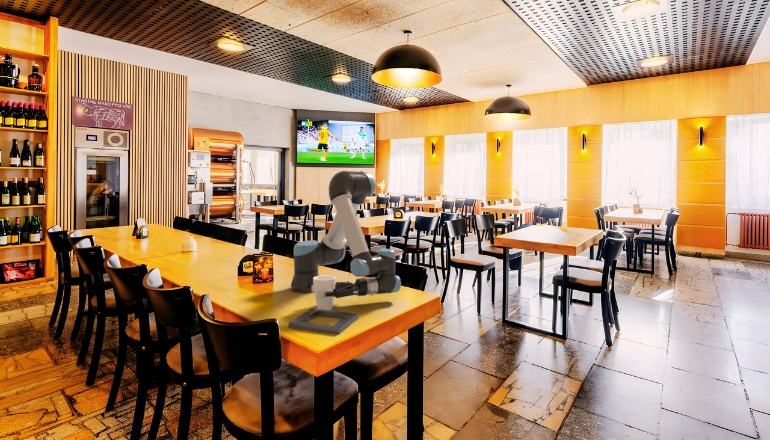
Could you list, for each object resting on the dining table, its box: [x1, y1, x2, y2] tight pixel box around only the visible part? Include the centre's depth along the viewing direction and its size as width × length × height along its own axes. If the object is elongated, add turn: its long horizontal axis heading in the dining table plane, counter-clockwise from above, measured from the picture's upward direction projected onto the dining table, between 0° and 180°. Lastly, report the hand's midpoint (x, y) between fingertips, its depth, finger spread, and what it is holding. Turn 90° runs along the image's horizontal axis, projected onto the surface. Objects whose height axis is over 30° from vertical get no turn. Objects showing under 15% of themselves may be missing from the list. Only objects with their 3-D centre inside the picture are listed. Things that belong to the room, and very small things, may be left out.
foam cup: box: [313, 274, 337, 311], centre depth 165 cm, size 10×9×13 cm
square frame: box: [288, 308, 359, 335], centre depth 148 cm, size 20×17×2 cm
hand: (314, 291), depth 163 cm, fingers closed on foam cup, 9 cm apart
